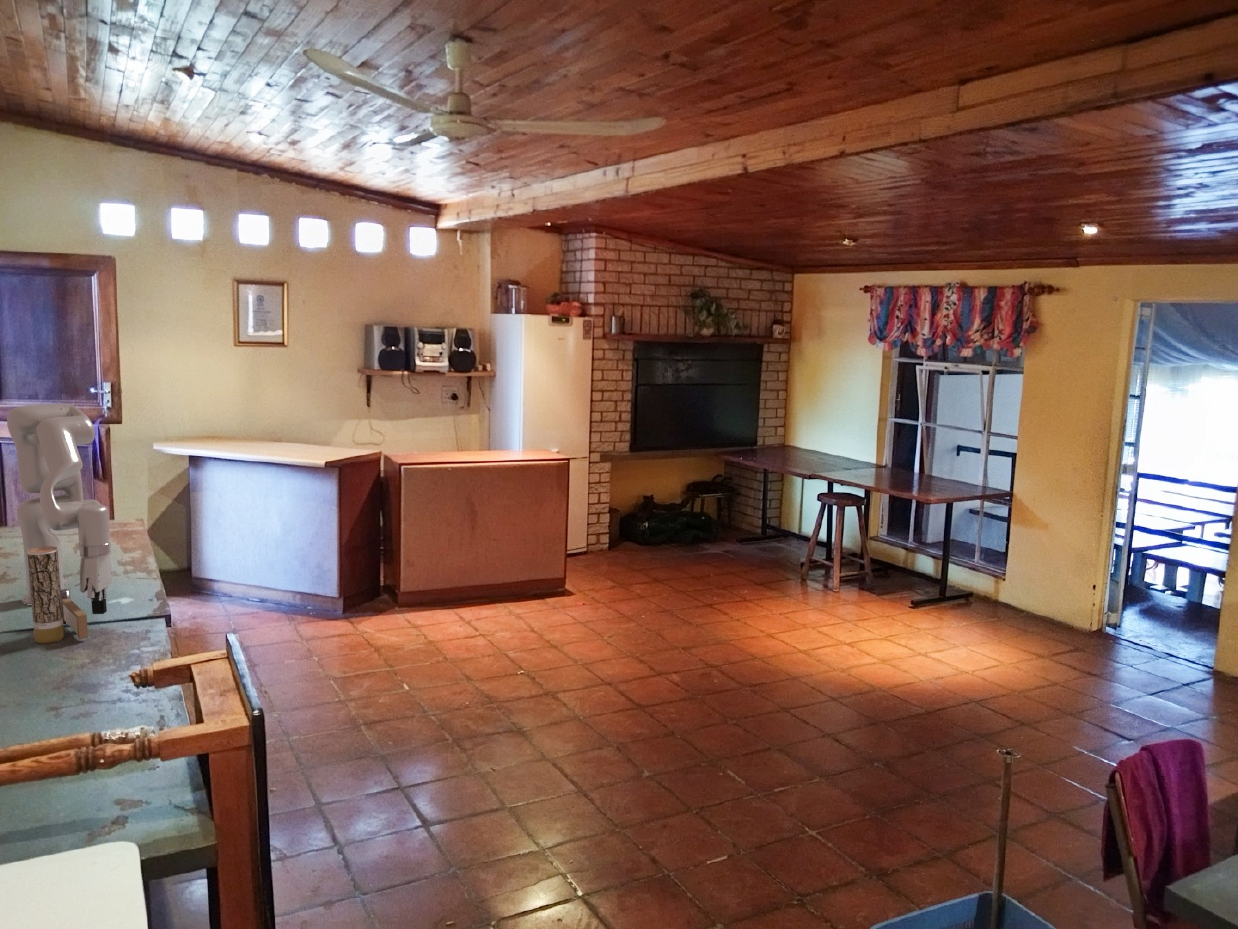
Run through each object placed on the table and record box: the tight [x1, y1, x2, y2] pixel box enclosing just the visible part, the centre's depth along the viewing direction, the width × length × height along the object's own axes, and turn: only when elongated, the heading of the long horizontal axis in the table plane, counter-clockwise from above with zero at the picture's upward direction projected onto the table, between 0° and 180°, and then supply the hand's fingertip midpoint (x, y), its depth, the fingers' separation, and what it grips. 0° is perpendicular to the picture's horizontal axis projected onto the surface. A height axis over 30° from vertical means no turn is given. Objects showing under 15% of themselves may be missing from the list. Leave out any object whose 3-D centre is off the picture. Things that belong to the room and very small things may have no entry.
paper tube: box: [27, 547, 65, 644], centre depth 247 cm, size 7×7×25 cm
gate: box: [62, 597, 89, 640], centre depth 254 cm, size 2×18×6 cm, turn 43°
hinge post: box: [61, 588, 71, 625], centre depth 262 cm, size 3×3×10 cm
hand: (99, 613), depth 260 cm, fingers closed
